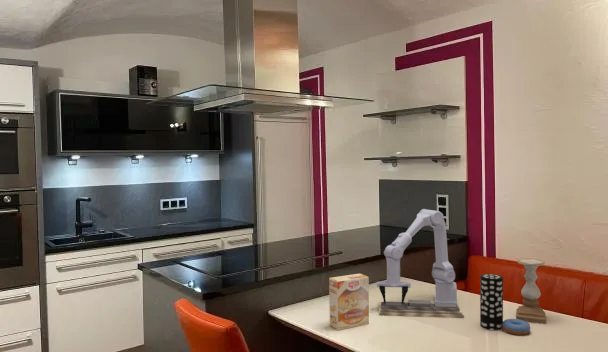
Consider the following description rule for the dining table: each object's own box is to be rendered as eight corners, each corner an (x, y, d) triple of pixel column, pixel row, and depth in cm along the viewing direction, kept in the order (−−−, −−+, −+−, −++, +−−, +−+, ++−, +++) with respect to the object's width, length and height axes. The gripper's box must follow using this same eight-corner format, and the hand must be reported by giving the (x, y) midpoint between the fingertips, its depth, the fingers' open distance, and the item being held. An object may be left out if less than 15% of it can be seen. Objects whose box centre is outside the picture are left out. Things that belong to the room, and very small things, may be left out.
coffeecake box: (338, 330, 187) (337, 281, 187) (329, 325, 194) (328, 277, 193) (369, 324, 194) (369, 276, 193) (359, 319, 201) (359, 272, 200)
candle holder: (545, 315, 201) (545, 259, 200) (546, 324, 191) (546, 264, 190) (516, 312, 206) (516, 257, 205) (515, 320, 196) (516, 262, 195)
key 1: (403, 305, 213) (403, 301, 213) (404, 308, 208) (404, 305, 208) (383, 304, 214) (383, 301, 214) (383, 308, 209) (383, 304, 209)
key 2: (455, 306, 210) (455, 303, 210) (457, 310, 205) (457, 307, 205) (433, 306, 211) (433, 302, 211) (435, 309, 206) (435, 306, 206)
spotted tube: (502, 324, 192) (502, 274, 191) (503, 331, 184) (503, 279, 183) (480, 322, 194) (480, 273, 194) (480, 329, 187) (480, 278, 186)
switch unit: (457, 306, 214) (457, 301, 214) (464, 318, 200) (464, 311, 200) (378, 304, 219) (378, 299, 219) (379, 315, 205) (379, 309, 205)
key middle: (429, 303, 211) (429, 300, 211) (430, 307, 206) (430, 303, 206) (408, 303, 213) (408, 299, 212) (409, 306, 208) (409, 303, 208)
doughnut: (528, 337, 177) (528, 324, 177) (500, 334, 182) (499, 321, 182) (532, 331, 185) (531, 319, 186) (504, 328, 191) (504, 316, 191)
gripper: (376, 274, 208) (377, 305, 208) (411, 275, 205) (411, 306, 206) (376, 270, 215) (376, 300, 215) (409, 271, 212) (409, 301, 213)
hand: (393, 303), depth 211 cm, fingers open, 7 cm apart
